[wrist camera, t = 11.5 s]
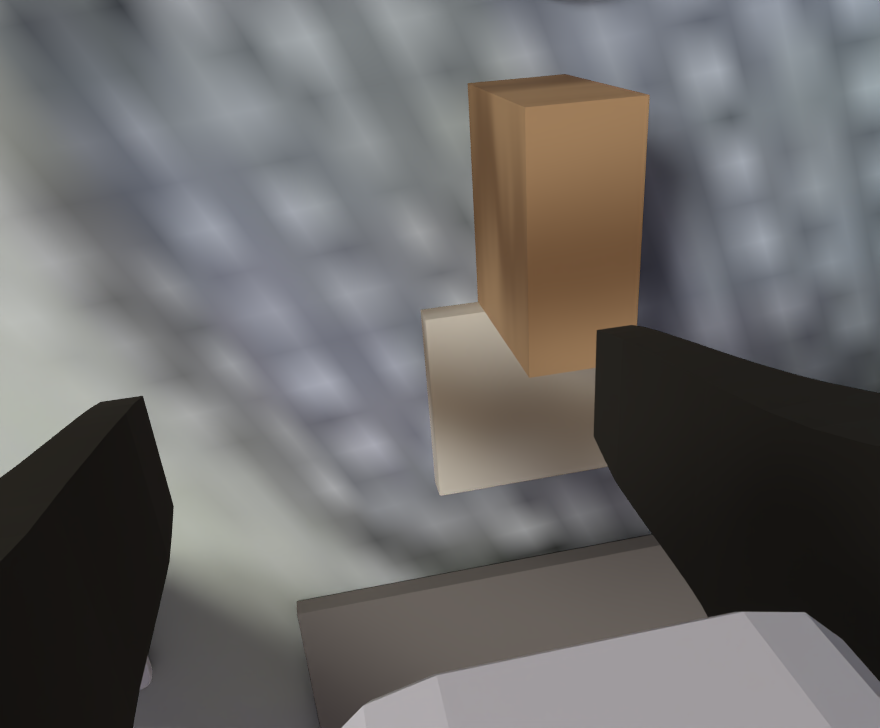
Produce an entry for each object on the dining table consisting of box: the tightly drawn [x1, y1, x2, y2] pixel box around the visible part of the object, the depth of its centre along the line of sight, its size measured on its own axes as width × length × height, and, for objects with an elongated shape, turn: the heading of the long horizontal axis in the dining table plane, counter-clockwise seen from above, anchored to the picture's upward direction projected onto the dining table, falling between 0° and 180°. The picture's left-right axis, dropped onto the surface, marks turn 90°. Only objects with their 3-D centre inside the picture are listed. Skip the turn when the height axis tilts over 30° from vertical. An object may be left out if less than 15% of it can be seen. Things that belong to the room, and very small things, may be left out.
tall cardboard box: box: [421, 74, 650, 496], centre depth 20 cm, size 12×6×5 cm, turn 4°
